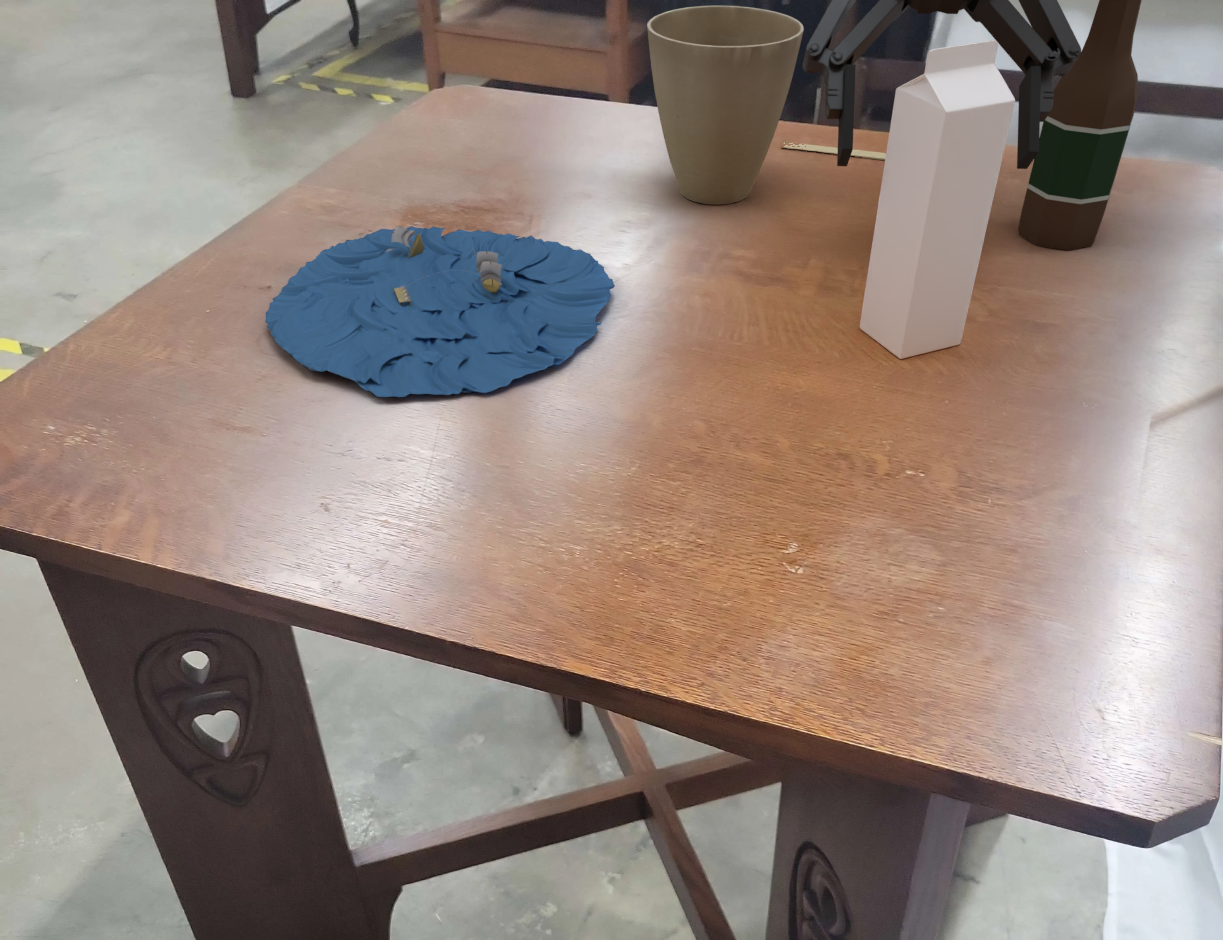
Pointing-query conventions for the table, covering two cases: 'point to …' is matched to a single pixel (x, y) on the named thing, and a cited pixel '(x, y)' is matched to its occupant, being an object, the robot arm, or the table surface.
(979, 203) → the milk
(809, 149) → the chopstick
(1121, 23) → the beer bottle
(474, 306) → the blue crumpled disc
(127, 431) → the table surface
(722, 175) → the plant pot
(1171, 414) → the table surface
